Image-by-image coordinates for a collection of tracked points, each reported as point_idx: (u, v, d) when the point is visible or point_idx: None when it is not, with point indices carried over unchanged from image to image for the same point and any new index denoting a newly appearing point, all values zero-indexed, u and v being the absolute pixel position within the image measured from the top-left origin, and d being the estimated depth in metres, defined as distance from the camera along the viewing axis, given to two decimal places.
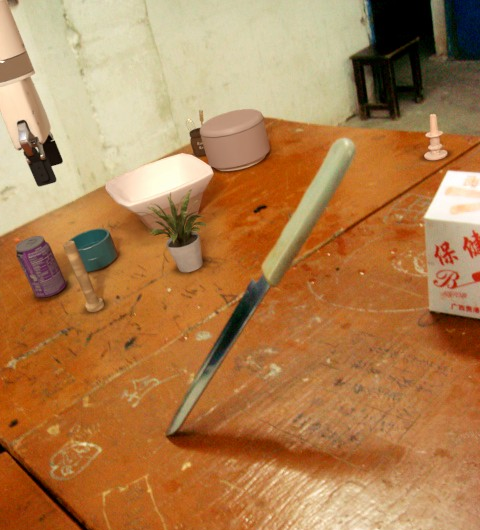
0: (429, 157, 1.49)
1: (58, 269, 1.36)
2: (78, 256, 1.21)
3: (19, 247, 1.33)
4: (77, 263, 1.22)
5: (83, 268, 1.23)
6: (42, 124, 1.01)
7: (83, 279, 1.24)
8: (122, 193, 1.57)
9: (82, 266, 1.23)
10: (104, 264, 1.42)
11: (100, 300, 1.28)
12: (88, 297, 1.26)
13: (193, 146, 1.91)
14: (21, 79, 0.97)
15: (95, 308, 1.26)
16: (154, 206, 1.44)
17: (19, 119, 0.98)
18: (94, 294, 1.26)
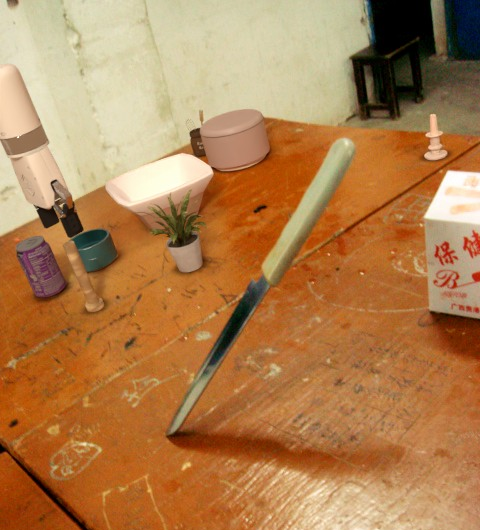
0: (429, 157, 1.49)
1: (58, 269, 1.36)
2: (78, 256, 1.21)
3: (19, 247, 1.33)
4: (77, 263, 1.22)
5: (83, 268, 1.23)
6: None
7: (83, 279, 1.24)
8: (122, 193, 1.57)
9: (82, 266, 1.23)
10: (104, 264, 1.42)
11: (100, 300, 1.28)
12: (88, 297, 1.26)
13: (193, 146, 1.91)
14: (46, 145, 1.09)
15: (95, 308, 1.26)
16: (154, 206, 1.44)
17: (52, 179, 1.10)
18: (94, 294, 1.26)
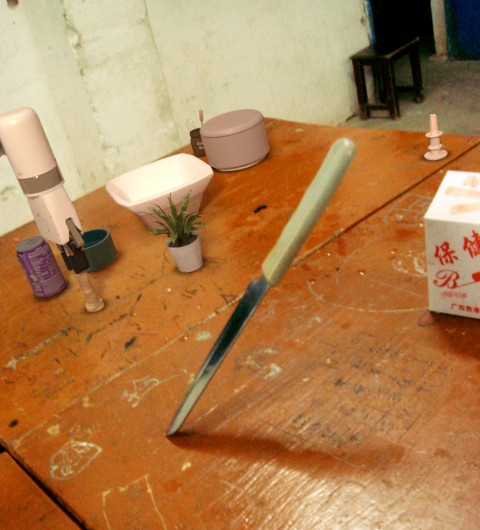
0: (429, 157, 1.49)
1: (58, 269, 1.36)
2: None
3: (19, 247, 1.33)
4: None
5: None
6: None
7: (83, 279, 1.24)
8: (122, 193, 1.57)
9: None
10: (104, 264, 1.42)
11: (100, 300, 1.28)
12: (88, 297, 1.26)
13: (193, 146, 1.91)
14: (62, 184, 1.13)
15: (95, 308, 1.26)
16: (154, 206, 1.44)
17: (67, 217, 1.13)
18: (94, 294, 1.26)
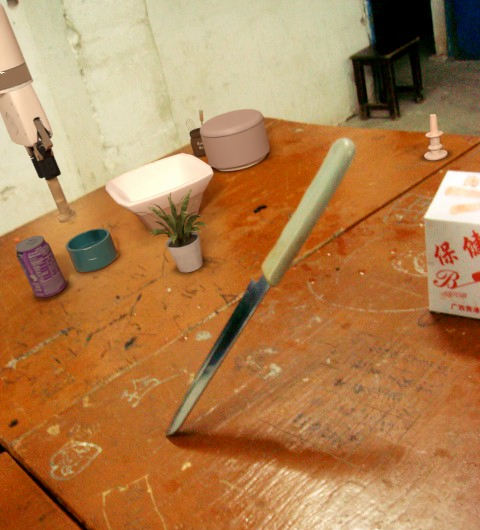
0: (429, 157, 1.49)
1: (58, 269, 1.36)
2: None
3: (19, 247, 1.33)
4: None
5: None
6: None
7: (54, 187, 1.23)
8: (122, 193, 1.57)
9: None
10: (104, 264, 1.42)
11: (72, 211, 1.27)
12: (59, 206, 1.25)
13: (193, 146, 1.91)
14: None
15: (67, 218, 1.25)
16: (154, 206, 1.44)
17: (35, 116, 1.12)
18: (66, 204, 1.25)
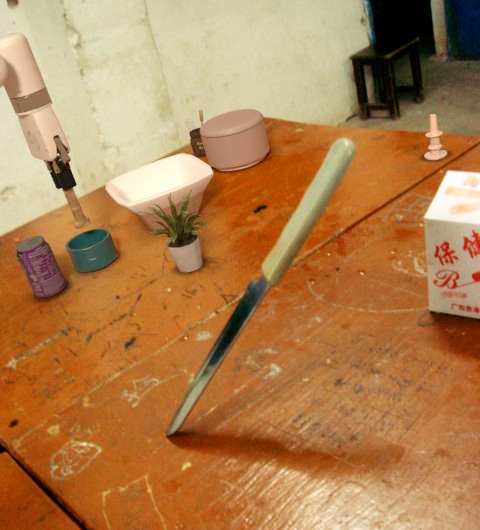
0: (429, 157, 1.49)
1: (58, 269, 1.36)
2: None
3: (19, 247, 1.33)
4: None
5: None
6: None
7: (71, 197, 1.36)
8: (122, 193, 1.57)
9: None
10: (104, 264, 1.42)
11: (86, 218, 1.40)
12: (75, 214, 1.39)
13: (193, 146, 1.91)
14: (50, 104, 1.26)
15: (82, 224, 1.39)
16: (154, 206, 1.44)
17: (55, 134, 1.26)
18: (81, 211, 1.39)
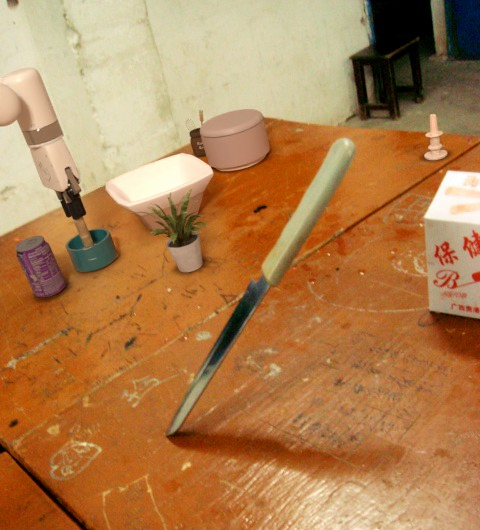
0: (429, 157, 1.49)
1: (58, 269, 1.36)
2: None
3: (19, 247, 1.33)
4: None
5: None
6: None
7: (80, 225, 1.39)
8: (122, 193, 1.57)
9: None
10: (104, 264, 1.42)
11: None
12: (84, 241, 1.41)
13: (193, 146, 1.91)
14: (61, 137, 1.28)
15: None
16: (154, 206, 1.44)
17: (66, 166, 1.29)
18: (90, 239, 1.41)
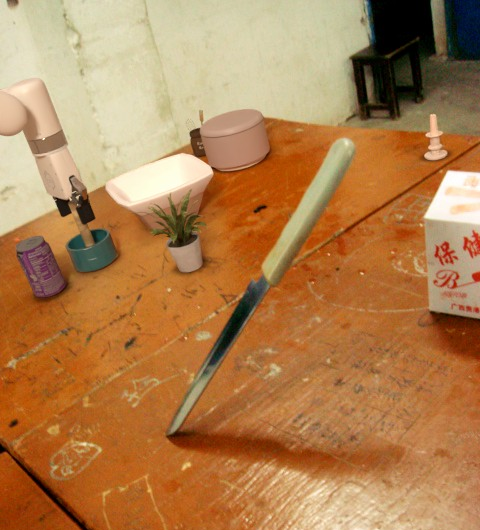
0: (429, 157, 1.49)
1: (58, 269, 1.36)
2: None
3: (19, 247, 1.33)
4: None
5: (85, 224, 1.40)
6: None
7: (86, 234, 1.41)
8: (122, 193, 1.57)
9: None
10: (104, 264, 1.42)
11: None
12: None
13: (193, 146, 1.91)
14: (66, 146, 1.30)
15: None
16: (154, 206, 1.44)
17: (70, 175, 1.31)
18: None
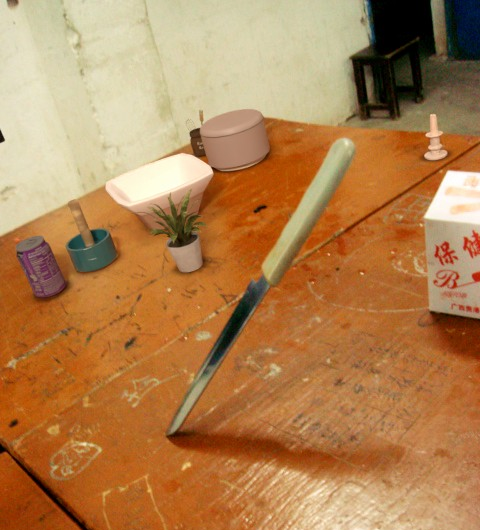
0: (429, 157, 1.49)
1: (58, 269, 1.36)
2: (81, 213, 1.39)
3: (19, 247, 1.33)
4: (80, 219, 1.39)
5: (85, 224, 1.40)
6: None
7: (86, 234, 1.41)
8: (122, 193, 1.57)
9: (84, 222, 1.40)
10: (104, 264, 1.42)
11: None
12: None
13: (193, 146, 1.91)
14: None
15: None
16: (154, 206, 1.44)
17: None
18: None
